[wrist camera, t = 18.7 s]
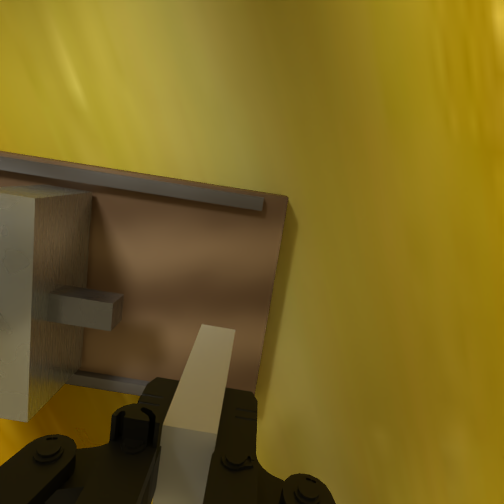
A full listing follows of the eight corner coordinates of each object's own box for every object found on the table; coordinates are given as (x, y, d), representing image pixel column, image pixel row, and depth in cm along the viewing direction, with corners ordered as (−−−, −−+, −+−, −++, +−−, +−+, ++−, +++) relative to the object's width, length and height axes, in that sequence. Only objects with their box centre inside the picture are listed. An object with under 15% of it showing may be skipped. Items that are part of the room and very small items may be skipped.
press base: (-123, 131, 26) (-293, 113, 18) (286, 195, 26) (295, 206, 18) (-113, 335, 29) (-254, 396, 21) (252, 394, 29) (247, 477, 21)
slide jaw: (45, 184, 24) (-28, 188, 18) (147, 200, 24) (108, 210, 18) (38, 359, 26) (-28, 413, 20) (131, 374, 26) (92, 432, 20)
